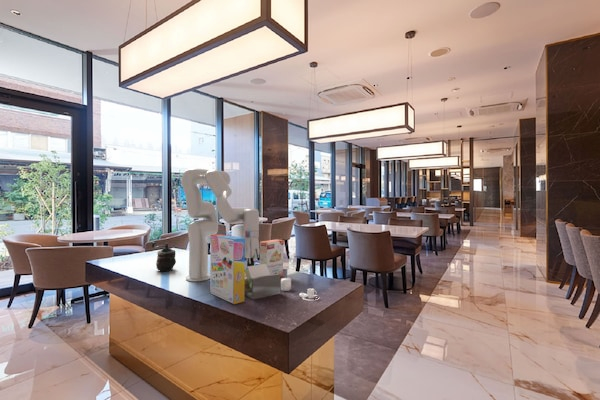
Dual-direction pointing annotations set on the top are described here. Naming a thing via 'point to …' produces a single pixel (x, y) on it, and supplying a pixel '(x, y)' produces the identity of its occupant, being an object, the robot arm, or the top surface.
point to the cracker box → (272, 255)
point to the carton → (256, 272)
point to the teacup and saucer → (310, 294)
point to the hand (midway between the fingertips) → (250, 271)
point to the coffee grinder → (165, 258)
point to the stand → (263, 286)
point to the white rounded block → (285, 284)
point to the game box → (227, 268)
